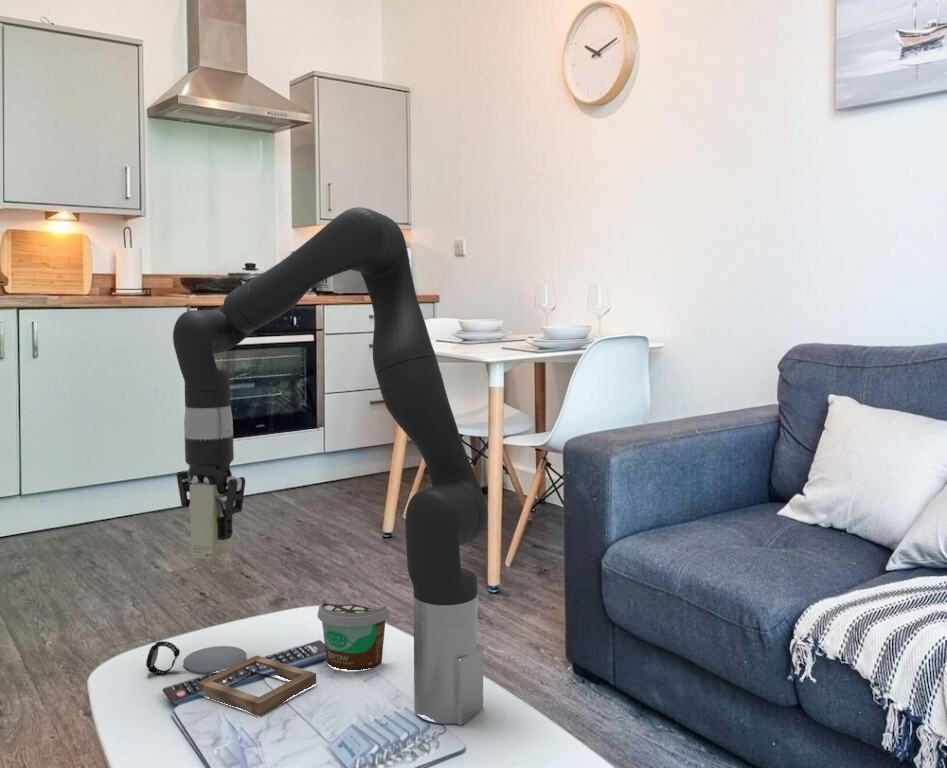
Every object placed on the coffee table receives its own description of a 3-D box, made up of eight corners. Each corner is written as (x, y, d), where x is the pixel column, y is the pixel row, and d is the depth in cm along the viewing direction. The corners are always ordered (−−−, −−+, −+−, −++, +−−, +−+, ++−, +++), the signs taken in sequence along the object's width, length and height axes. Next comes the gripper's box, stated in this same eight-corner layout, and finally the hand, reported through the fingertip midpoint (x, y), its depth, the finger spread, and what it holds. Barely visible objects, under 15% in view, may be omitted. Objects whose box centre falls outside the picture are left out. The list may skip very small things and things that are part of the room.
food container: (304, 669, 139) (303, 609, 138) (322, 655, 145) (321, 597, 144) (374, 679, 135) (374, 617, 134) (390, 664, 141) (389, 604, 140)
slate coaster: (259, 657, 144) (259, 654, 144) (212, 679, 135) (212, 675, 135) (217, 645, 149) (217, 641, 149) (170, 665, 141) (170, 661, 141)
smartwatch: (157, 666, 140) (156, 637, 140) (183, 671, 139) (183, 641, 138) (140, 677, 136) (139, 646, 136) (167, 681, 135) (166, 650, 134)
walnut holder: (316, 685, 133) (316, 673, 133) (259, 716, 123) (258, 703, 123) (256, 667, 140) (256, 655, 140) (197, 695, 130) (197, 682, 130)
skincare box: (214, 560, 137) (213, 486, 136) (189, 558, 138) (188, 484, 137) (233, 550, 143) (232, 478, 142) (209, 548, 144) (208, 476, 143)
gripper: (257, 434, 138) (260, 537, 140) (197, 427, 146) (200, 525, 147) (221, 440, 132) (224, 548, 133) (160, 433, 139) (164, 535, 141)
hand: (212, 536), depth 140 cm, fingers closed on skincare box, 5 cm apart
